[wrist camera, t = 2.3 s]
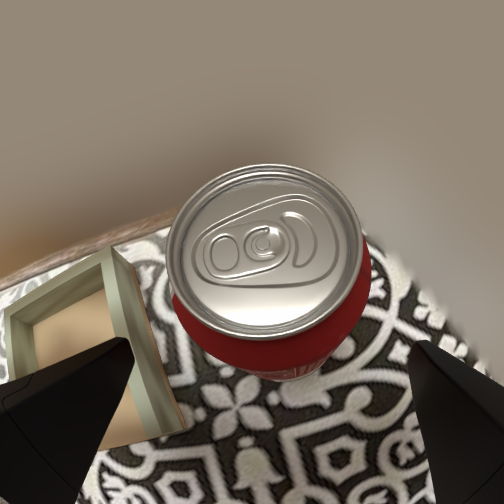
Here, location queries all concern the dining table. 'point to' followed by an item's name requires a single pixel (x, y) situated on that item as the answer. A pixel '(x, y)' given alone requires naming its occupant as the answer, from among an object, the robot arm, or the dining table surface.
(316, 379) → the dining table surface
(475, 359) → the dining table surface
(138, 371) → the dock
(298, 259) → the soda can
